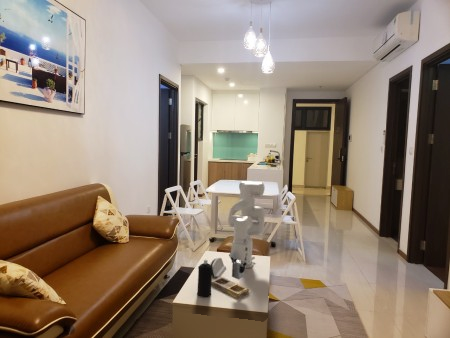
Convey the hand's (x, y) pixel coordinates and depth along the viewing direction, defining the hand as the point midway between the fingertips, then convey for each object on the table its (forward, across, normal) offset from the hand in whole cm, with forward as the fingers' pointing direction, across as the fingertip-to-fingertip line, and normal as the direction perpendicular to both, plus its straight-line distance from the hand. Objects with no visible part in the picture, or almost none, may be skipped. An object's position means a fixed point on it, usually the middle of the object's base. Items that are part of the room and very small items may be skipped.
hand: (238, 270), depth 177 cm
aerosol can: (+14, +12, +15) cm, 24 cm away
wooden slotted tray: (+14, +6, 0) cm, 15 cm away
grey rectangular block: (+4, 0, 0) cm, 4 cm away
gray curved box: (+14, +26, -11) cm, 32 cm away
